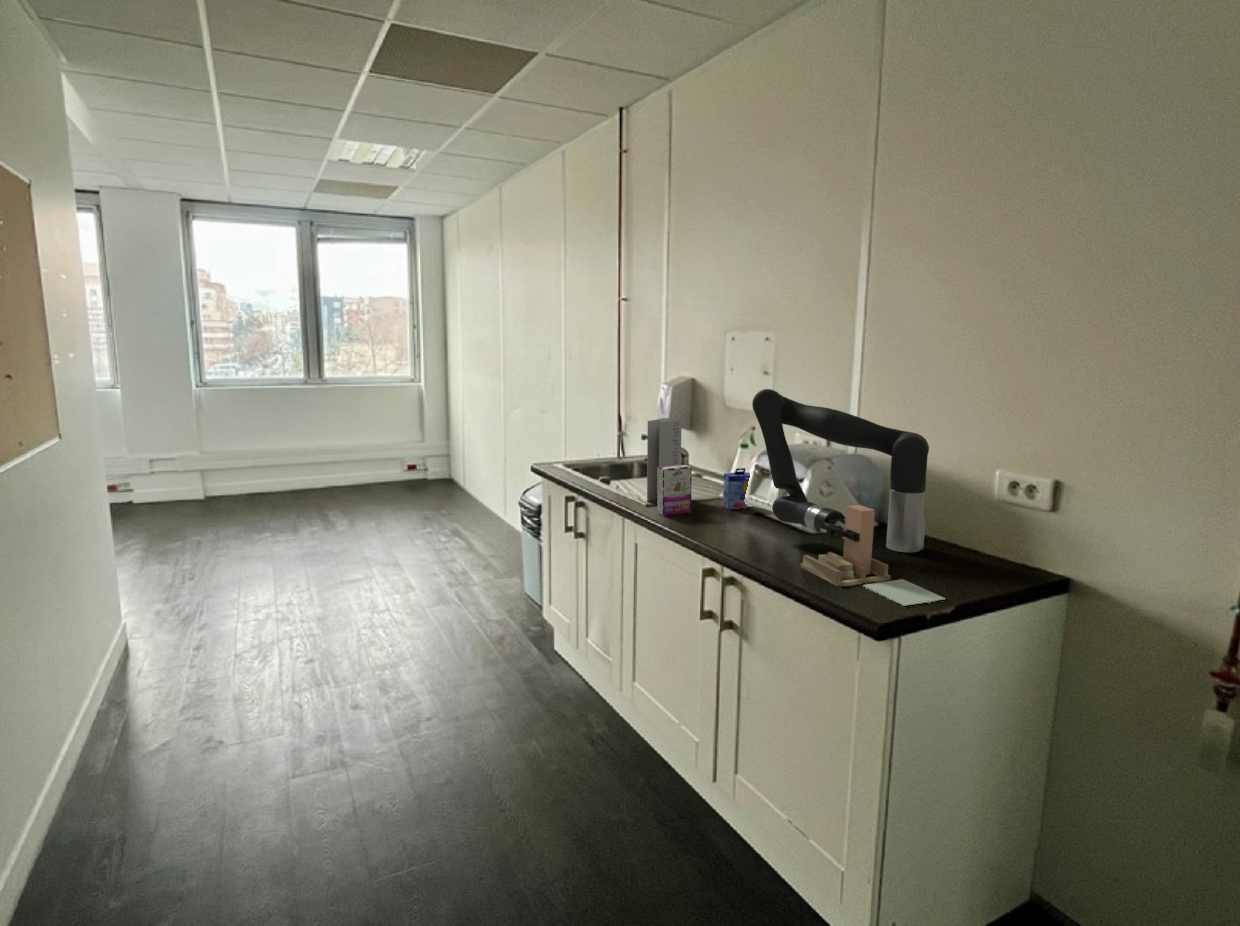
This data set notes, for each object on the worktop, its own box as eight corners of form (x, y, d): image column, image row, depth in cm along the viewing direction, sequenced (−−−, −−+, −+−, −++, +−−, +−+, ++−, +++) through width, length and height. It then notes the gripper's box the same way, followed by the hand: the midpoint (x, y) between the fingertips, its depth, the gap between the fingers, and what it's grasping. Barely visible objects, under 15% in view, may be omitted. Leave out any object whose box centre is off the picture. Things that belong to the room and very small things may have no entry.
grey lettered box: (659, 504, 256) (660, 422, 251) (646, 502, 259) (647, 421, 254) (680, 497, 267) (681, 418, 262) (668, 495, 270) (669, 417, 265)
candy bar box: (684, 510, 248) (685, 464, 245) (691, 513, 243) (692, 466, 240) (656, 513, 243) (656, 466, 240) (662, 516, 239) (663, 468, 236)
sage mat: (902, 581, 176) (902, 579, 176) (945, 600, 163) (945, 598, 163) (862, 586, 172) (863, 584, 172) (904, 607, 159) (904, 605, 159)
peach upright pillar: (855, 567, 187) (859, 504, 184) (870, 574, 181) (874, 509, 178) (842, 568, 185) (846, 505, 182) (857, 575, 180) (861, 511, 177)
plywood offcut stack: (830, 568, 187) (831, 552, 186) (854, 582, 176) (855, 566, 175) (815, 569, 186) (816, 554, 185) (839, 583, 175) (840, 567, 174)
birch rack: (848, 560, 192) (849, 548, 191) (890, 579, 177) (891, 566, 176) (799, 566, 187) (800, 554, 186) (839, 587, 172) (840, 573, 171)
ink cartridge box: (727, 509, 248) (729, 469, 245) (721, 506, 253) (722, 466, 251) (753, 508, 250) (755, 468, 248) (747, 504, 255) (748, 465, 253)
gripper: (803, 509, 191) (843, 525, 176) (846, 505, 196) (889, 520, 181) (802, 536, 193) (842, 554, 177) (845, 531, 198) (887, 548, 182)
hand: (865, 537), depth 179 cm, fingers closed on peach upright pillar, 4 cm apart
